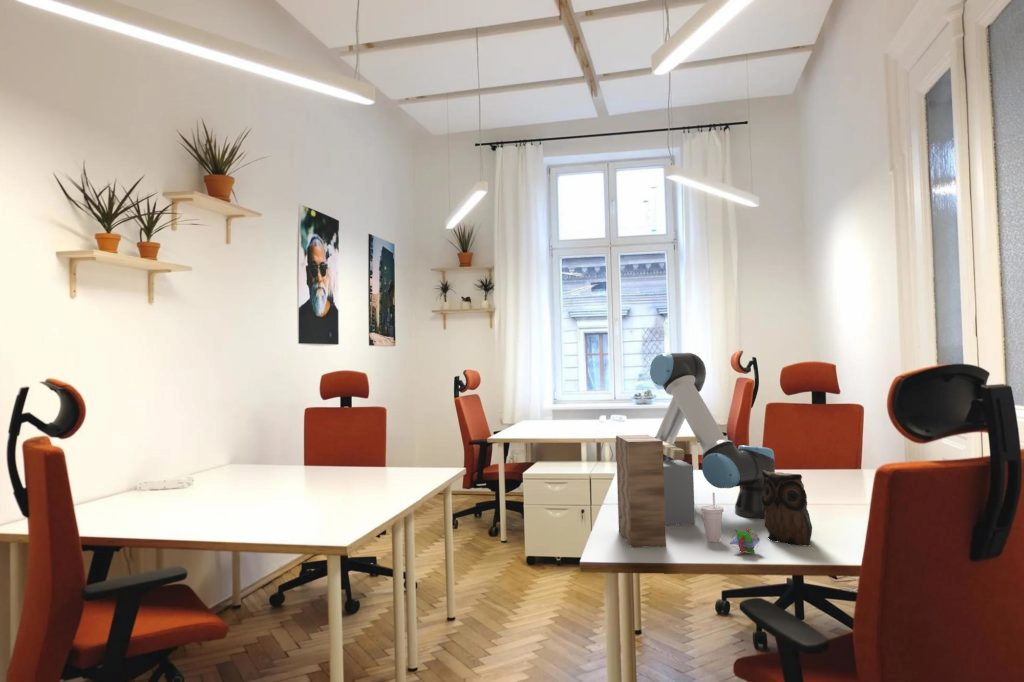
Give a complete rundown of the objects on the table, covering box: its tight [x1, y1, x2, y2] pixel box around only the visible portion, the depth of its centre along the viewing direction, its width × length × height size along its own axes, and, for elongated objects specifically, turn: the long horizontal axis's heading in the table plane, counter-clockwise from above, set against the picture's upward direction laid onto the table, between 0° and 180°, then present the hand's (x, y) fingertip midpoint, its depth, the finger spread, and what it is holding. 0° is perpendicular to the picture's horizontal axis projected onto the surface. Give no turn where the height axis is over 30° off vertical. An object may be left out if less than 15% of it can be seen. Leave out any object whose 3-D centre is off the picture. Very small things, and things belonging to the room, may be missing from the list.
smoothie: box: [700, 492, 724, 543], centre depth 194 cm, size 6×6×14 cm
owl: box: [762, 470, 813, 547], centre depth 193 cm, size 13×13×20 cm
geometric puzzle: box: [729, 527, 761, 556], centre depth 180 cm, size 7×7×8 cm
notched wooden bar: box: [663, 442, 685, 460], centre depth 225 cm, size 28×3×3 cm, turn 2°
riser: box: [663, 459, 696, 526], centre depth 220 cm, size 14×10×19 cm
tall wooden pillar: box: [615, 434, 667, 548], centre depth 199 cm, size 18×10×30 cm, turn 2°
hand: (665, 440), depth 228 cm, fingers closed on notched wooden bar, 3 cm apart
